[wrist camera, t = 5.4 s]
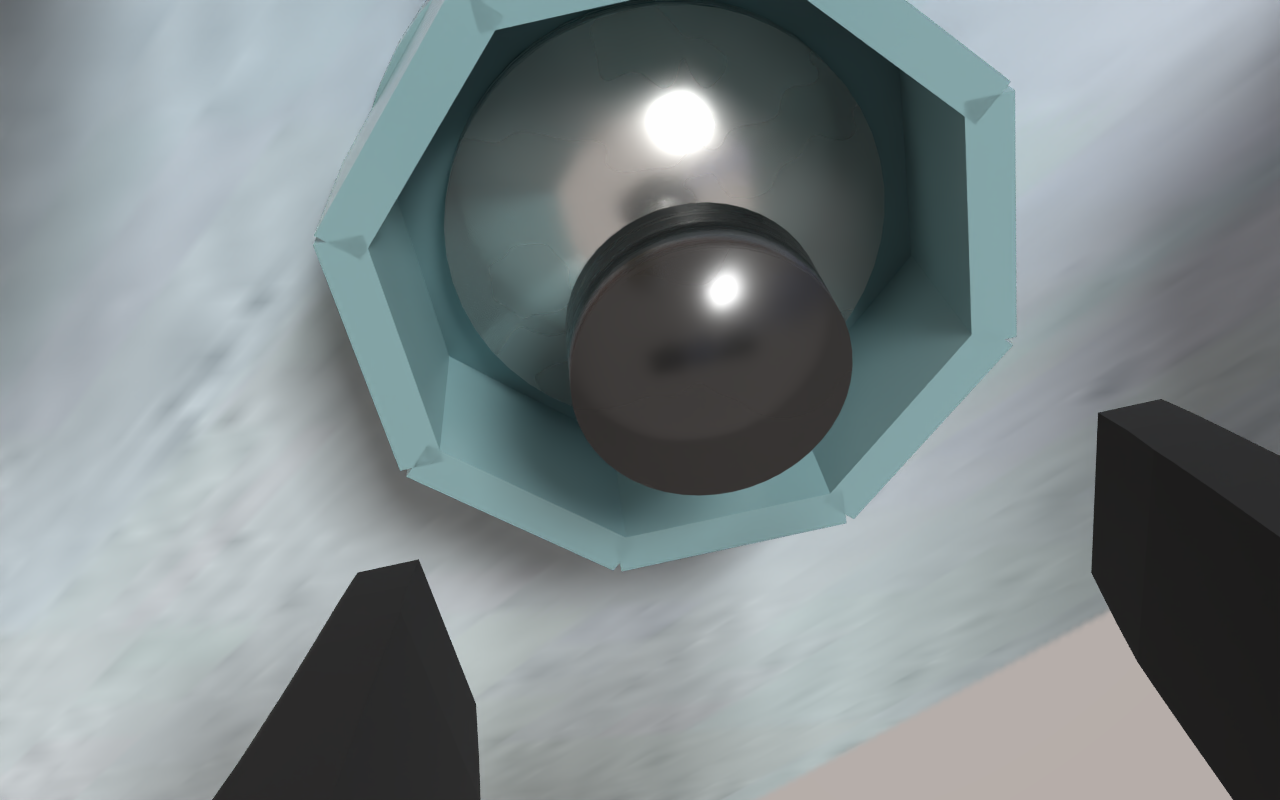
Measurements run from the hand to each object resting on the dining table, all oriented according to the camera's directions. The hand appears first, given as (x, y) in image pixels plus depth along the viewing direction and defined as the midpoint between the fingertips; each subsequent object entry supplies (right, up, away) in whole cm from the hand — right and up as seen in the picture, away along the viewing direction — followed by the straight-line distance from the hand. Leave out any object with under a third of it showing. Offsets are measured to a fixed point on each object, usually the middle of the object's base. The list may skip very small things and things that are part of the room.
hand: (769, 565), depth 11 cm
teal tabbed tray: (-1, +6, +8) cm, 10 cm away
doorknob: (-1, +5, +8) cm, 9 cm away
